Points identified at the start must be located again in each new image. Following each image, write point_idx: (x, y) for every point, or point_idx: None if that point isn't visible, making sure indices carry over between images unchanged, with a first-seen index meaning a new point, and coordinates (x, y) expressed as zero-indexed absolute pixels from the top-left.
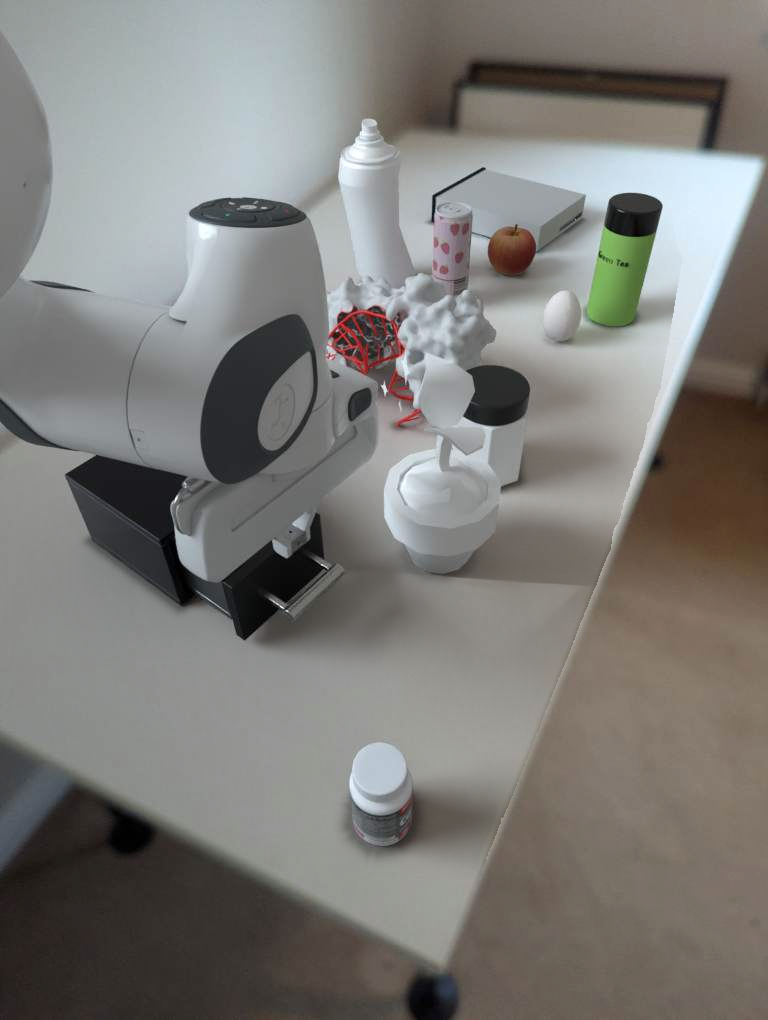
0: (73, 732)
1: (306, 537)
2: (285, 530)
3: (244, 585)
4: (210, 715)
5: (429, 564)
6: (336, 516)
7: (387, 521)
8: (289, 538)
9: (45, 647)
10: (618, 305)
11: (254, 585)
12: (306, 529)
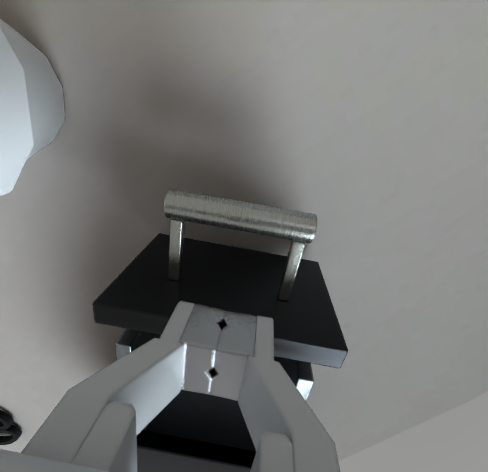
0: (483, 346)
1: (190, 316)
2: (277, 449)
3: (315, 330)
4: (425, 239)
5: (43, 74)
6: (79, 264)
7: (11, 179)
8: (239, 365)
9: (392, 410)
10: None
11: (291, 311)
12: (175, 341)
